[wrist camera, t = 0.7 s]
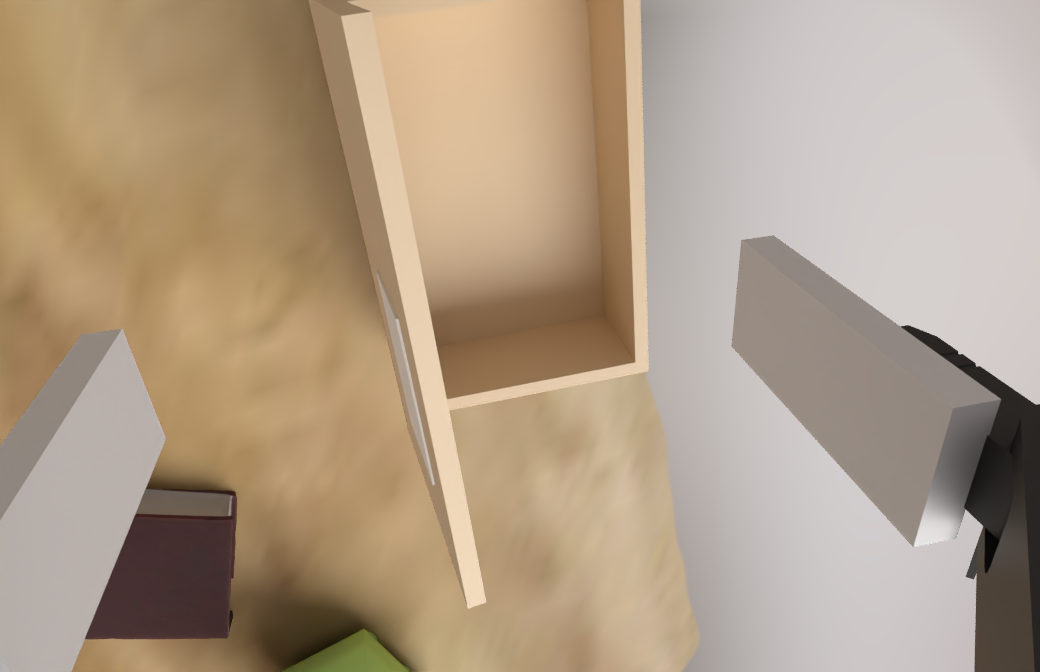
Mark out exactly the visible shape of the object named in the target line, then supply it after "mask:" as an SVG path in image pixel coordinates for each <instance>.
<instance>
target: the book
mask: <svg viewBox="0 0 1040 672" xmlns="http://www.w3.org/2000/svg"><path fill="white" fill-rule="evenodd" d="M236 510H237V498H236V494H235V492H228V491H212V490H180V489H163V490H159V489H145V491H144V494H143V496H142V499H141V501H140V504H139V506H138V509H137V511H136V514H135V516H134V519H133V521H132V524H131V526H130V528H129V531H128V533H127V536H126V538H125V541H124V543H123V546H122V548H121V551H120V553H119V556H118V558H117V560H116V563H115V565H114V568H113V570H112V573H111V575H110V578H109V580H108V583H107V585H106V588H105V590H104V592H103V595H102V597H101V600H100V602H99V605H98V607H97V610H96V612H95V615H94V617H93V620H92V622H91V625H90V627H89V629H88V632H87V634H86V637H85V639H111V638H114V639H209V638H227V637H228V636H229V631H230V626H231V623H232V619H233V613H232V611H230V594H231V578H233V574H234V559H235V530H236Z"/></svg>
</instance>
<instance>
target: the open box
mask: <svg viewBox="0 0 1040 672" xmlns="http://www.w3.org/2000/svg"><path fill="white" fill-rule="evenodd" d="M343 1H345V2H348V3H351V4H353V5H356V6H358V7H361V8H363V9H366V10H369V11H371V12H372V17H373V22H374V27H375V32H376V37H377V42H378V48H379V53H380V58H381V63H382V68H383V73H384V78H385V84H386V89H387V94H388V99H389V104H390V109H391V114H392V120H393V125H394V130H395V135H396V140H397V145H398V150H399V156H400V161H401V166H402V171H403V176H404V181H405V186H406V192H407V197H408V202H409V207H410V212H411V217H412V223H413V228H414V233H415V238H416V243H417V248H418V253H419V259H420V264H421V269H422V274H423V279H424V284H425V289H426V295H427V300H428V305H429V310H430V315H431V320H432V325H433V331H434V336H435V341H436V346H437V351H438V356H439V362H440V367H441V372H442V377H443V382H444V387H445V392H446V398H447V403H448V408H449V410H454V409H459V408H464V407H470V406H475V405H480V404H485V403H490V402H495V401H500V400H505V399H510V398H515V397H520V396H525V395H530V394H535V393H540V392H546V391H551V390H556V389H561V388H566V387H571V386H576V385H581V384H586V383H591V382H596V381H601V380H606V379H611V378H616V377H622V376H627V375H632V374H637V373H642V372H647V371H649V368H648V324H647V281H646V279H647V278H646V234H645V192H644V146H643V102H642V57H641V14H640V0H343Z"/></svg>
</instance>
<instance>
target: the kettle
mask: <svg viewBox="0 0 1040 672" xmlns="http://www.w3.org/2000/svg"><path fill="white" fill-rule="evenodd" d="M281 672H411V670H410V668H409V667H407V666H405V665H402V664H401V663H400V662H399V661H398V660H397V659H396V658H395V657H394V656H393V655H392V654H391V653H389V652H388V651H387V650H386V649H385V648H384V647H383V646H382V645H381V644H380V643H379V642H378V641H377V637H376V635H375V634H374V633H372V632H369V631H367V630H366V629H362V630H360V631H358V632H356V633H354V634H352V635H351V636H349V637H347V638H345V639H343V640H341V641H339V642H337V643H335V644H333V645H331V646H329V647H327V648H325V649H324V650H322V651H320V652H318V653H316V654H314V655H312V656H310V657H308V658H306V659H304V660H302V661H300V662H298V663H296V664H295V665H293V666H291V667H289V668H287V669H285V670H283V671H281Z"/></svg>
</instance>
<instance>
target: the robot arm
mask: <svg viewBox="0 0 1040 672" xmlns="http://www.w3.org/2000/svg"><path fill="white" fill-rule="evenodd" d="M732 347H733V348H734V349H735V351H736V352H737V353H738V354H739V355H740V356H741V357H742V358H743V359H744V360H745V362H746V363H747V364H748V365H749V366H750V367H751V368H752V369H753V370H754V372H755V373H756V374H757V375H758V376H759V377H760V378H761V379H762V380H763V382H764V383H765V384H766V385H767V386H768V387H769V388H770V389H771V390H772V391H773V393H774V394H775V395H776V396H777V397H778V398H779V399H780V400H781V401H782V402H783V404H784V405H785V406H786V407H787V408H788V409H789V410H790V411H791V412H792V414H793V415H794V416H795V417H796V418H797V419H798V420H799V421H800V422H801V423H802V425H803V426H804V427H805V428H806V429H807V430H808V431H809V432H810V433H811V434H812V436H813V437H814V438H815V439H816V440H817V441H818V442H819V443H820V444H821V446H822V447H823V448H824V449H825V450H826V451H827V452H828V453H829V454H830V456H831V457H832V458H833V459H834V460H835V461H836V462H837V463H838V464H839V465H840V467H842V469H843V470H844V471H845V472H846V473H847V474H848V475H849V476H850V478H851V479H852V480H853V481H854V482H855V483H856V484H857V485H858V486H859V488H860V489H861V490H862V491H863V492H864V493H865V494H866V495H867V496H868V497H869V499H870V500H871V501H872V502H873V503H874V504H875V505H876V506H877V507H878V509H879V510H880V511H881V512H882V513H883V514H884V515H885V516H886V517H887V519H888V520H889V521H890V522H891V523H892V524H893V525H894V526H895V527H896V528H897V530H898V531H899V532H900V533H901V534H902V535H903V536H904V537H905V538H906V540H907V541H908V542H909V543H910V544H911V545H912V546H913V547H917V546H921V545H926V544H931V543H936V542H941V541H946V540H950V539H955V538H956V537H957V534H958V531H959V528H960V525H961V522H962V519H963V515H964V512H965V509H966V510H967V511H968V512H969V513H970V514H971V515H972V516H973V517H974V518H976V519H977V520H978V521H979V522H980V523H981V524H982V525H983V529H982V532H981V535H980V537H979V540H978V543H977V546H976V549H975V552H974V555H973V557H972V560H971V563H970V566H969V569H968V572H967V575H966V577H968V578H971V579H974V577H975V575H976V573H977V585H976V586H977V587H976V630H975V672H1040V404H1038V405H1035V404H1034V403H1032V402H1031V401H1029V400H1028V399H1027V398H1025V397H1024V396H1022V395H1021V394H1019V393H1018V392H1016V391H1015V390H1013V389H1012V388H1010V387H1009V386H1008V385H1006V384H1005V383H1003V382H1002V381H1000V380H999V379H997V378H996V377H995V376H993V375H992V374H990V373H989V372H987V371H986V370H984V369H983V368H982V367H980V366H979V367H976V365H975V363H974V362H973V361H971V360H970V359H968V358H967V357H966V356H964V355H963V354H961V355H959V354H958V351H957V350H955V349H954V348H953V347H951V346H950V345H948V344H947V343H945V342H944V341H942V340H941V339H940V338H938V337H937V336H934V335H931V334H929V333H926V332H924V331H921V330H919V329H916V328H914V327H911V326H908V325H907V326H901V327H900V326H898V325H897V324H896V323H894V322H893V321H892V320H890V319H889V318H887V317H886V316H884V315H883V314H882V313H880V312H879V311H878V310H876V309H875V308H873V307H872V306H871V305H869V304H868V303H867V302H865V301H864V300H862V299H861V298H860V297H858V296H857V295H855V294H854V293H853V292H851V291H850V290H849V289H847V288H846V287H844V286H843V285H841V284H840V283H839V282H837V281H836V280H835V279H833V278H832V277H830V276H829V275H828V274H826V273H825V272H824V271H822V270H821V269H819V268H818V267H817V266H815V265H814V264H812V263H811V262H810V261H808V260H807V259H805V258H804V257H803V256H801V255H800V254H798V253H797V252H796V251H794V250H793V249H791V248H790V247H789V246H787V245H786V244H784V243H783V242H782V241H780V240H779V239H777V238H776V237H775V236H767V237H761V238H753V239H746V240H741V251H740V261H739V273H738V283H737V294H736V305H735V317H734V327H733V338H732ZM165 440H166V438H165V435H164V433H163V430H162V428H161V425H160V423H159V420H158V418H157V415H156V413H155V410H154V408H153V405H152V403H151V400H150V398H149V395H148V393H147V390H146V387H145V385H144V382H143V380H142V377H141V375H140V372H139V370H138V367H137V365H136V362H135V360H134V357H133V355H132V352H131V350H130V347H129V345H128V342H127V340H126V337H125V335H124V332H123V330H122V329H117V330H110V331H103V332H96V333H89V334H82V335H81V336H80V337H79V338H78V340H77V341H76V343H75V344H74V345H73V347H72V348H71V349H70V351H69V352H68V354H67V355H66V356H65V358H64V359H63V360H62V362H61V363H60V365H59V366H58V367H57V369H56V370H55V371H54V373H53V374H52V375H51V377H50V378H49V380H48V381H47V382H46V384H45V385H44V386H43V388H42V389H41V391H40V392H39V393H38V395H37V396H36V397H35V399H34V400H33V401H32V403H31V404H30V406H29V407H28V408H27V410H26V411H25V412H24V414H23V415H22V417H21V418H20V419H19V421H18V422H17V423H16V425H15V426H14V428H13V429H12V430H11V432H10V433H9V434H8V436H7V437H6V438H5V440H4V441H3V443H2V444H1V445H0V672H71V671H72V669H73V666H74V664H75V661H76V659H77V657H78V654H79V652H80V649H81V647H82V644H83V642H84V639H85V637H86V634H87V632H88V629H89V627H90V625H91V622H92V620H93V617H94V615H95V612H96V610H97V607H98V605H99V602H100V600H101V597H102V595H103V592H104V590H105V588H106V585H107V583H108V580H109V578H110V575H111V573H112V570H113V568H114V565H115V563H116V560H117V558H118V556H119V553H120V551H121V548H122V546H123V543H124V541H125V538H126V536H127V533H128V531H129V528H130V526H131V524H132V521H133V519H134V516H135V514H136V511H137V509H138V506H139V504H140V501H141V499H142V496H143V494H144V491H145V489H146V487H147V484H148V482H149V479H150V477H151V474H152V472H153V469H154V467H155V464H156V462H157V459H158V457H159V455H160V452H161V450H162V447H163V445H164V442H165Z"/></svg>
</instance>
